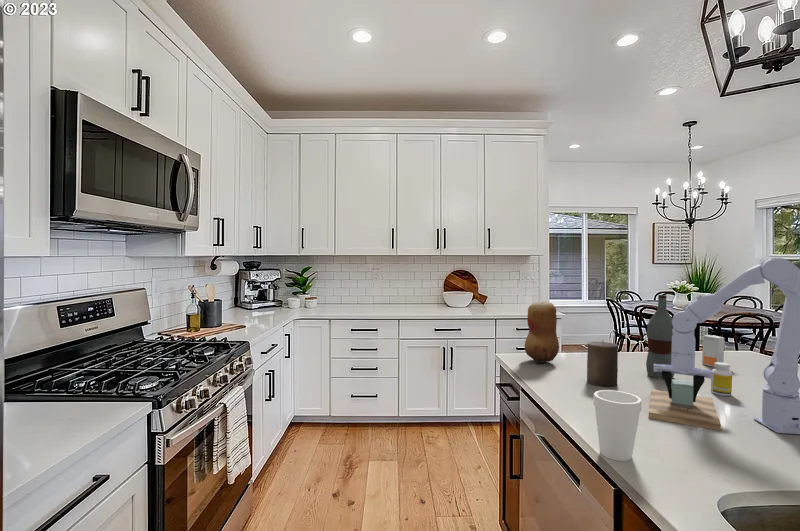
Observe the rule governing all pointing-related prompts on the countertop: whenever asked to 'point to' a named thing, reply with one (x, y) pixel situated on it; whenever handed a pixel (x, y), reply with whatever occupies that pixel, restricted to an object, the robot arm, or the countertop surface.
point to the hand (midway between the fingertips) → (681, 399)
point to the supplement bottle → (721, 379)
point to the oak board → (684, 411)
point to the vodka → (659, 339)
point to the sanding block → (682, 394)
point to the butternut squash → (542, 332)
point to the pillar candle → (602, 364)
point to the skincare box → (712, 350)
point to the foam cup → (616, 423)
